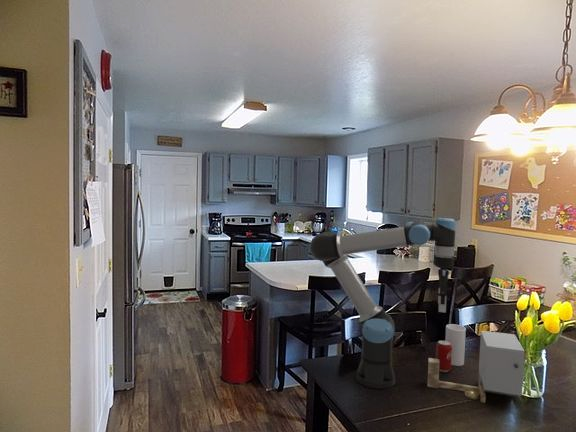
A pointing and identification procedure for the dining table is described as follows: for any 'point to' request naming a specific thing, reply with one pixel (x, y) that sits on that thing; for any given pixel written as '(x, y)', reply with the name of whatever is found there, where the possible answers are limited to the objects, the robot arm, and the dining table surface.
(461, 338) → the cup
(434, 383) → the block
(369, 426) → the dining table surface
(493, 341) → the cabinet
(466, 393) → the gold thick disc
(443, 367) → the beverage can
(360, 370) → the robot arm
